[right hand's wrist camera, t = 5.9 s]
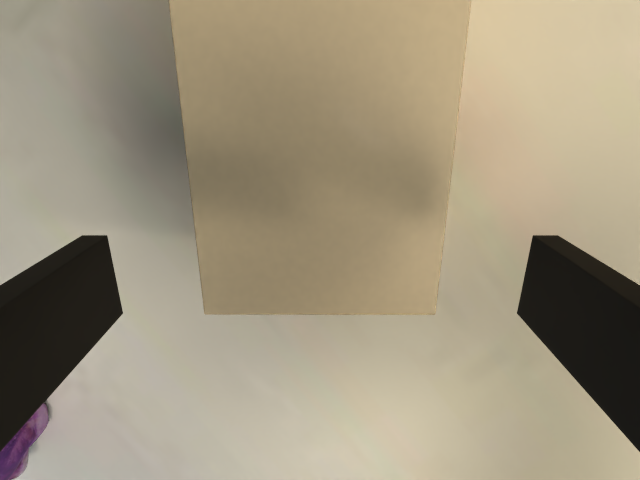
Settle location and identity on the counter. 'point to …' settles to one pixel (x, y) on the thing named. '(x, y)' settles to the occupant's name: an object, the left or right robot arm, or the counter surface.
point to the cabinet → (319, 150)
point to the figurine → (22, 445)
